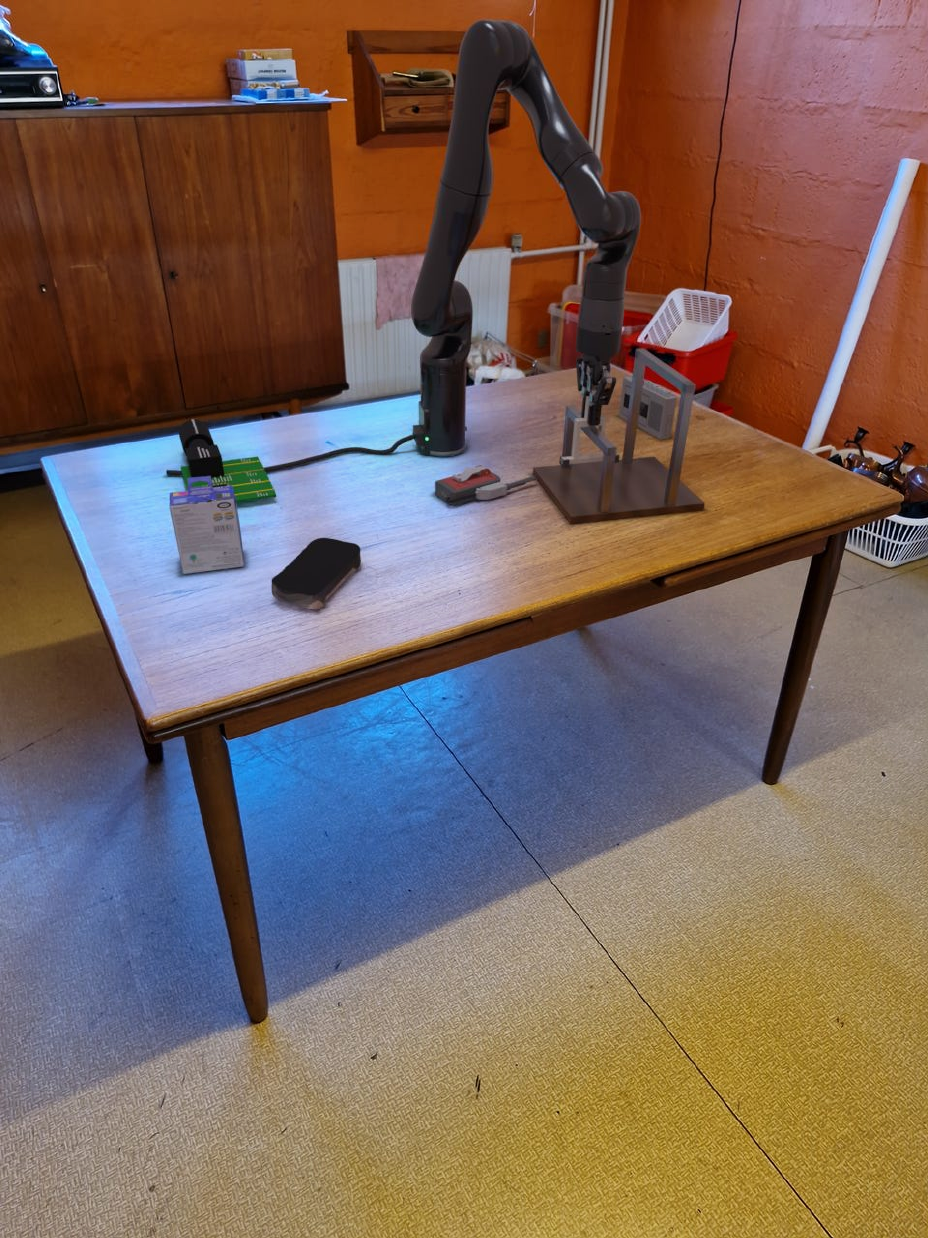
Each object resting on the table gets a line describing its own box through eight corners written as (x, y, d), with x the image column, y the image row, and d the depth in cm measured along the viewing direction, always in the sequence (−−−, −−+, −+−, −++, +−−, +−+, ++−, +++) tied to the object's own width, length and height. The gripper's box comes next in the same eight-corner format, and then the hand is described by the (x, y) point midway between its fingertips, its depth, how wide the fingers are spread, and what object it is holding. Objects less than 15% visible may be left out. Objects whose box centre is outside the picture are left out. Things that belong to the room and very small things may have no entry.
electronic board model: (273, 468, 153) (186, 480, 148) (277, 502, 157) (193, 515, 152) (245, 412, 176) (169, 421, 171) (249, 444, 180) (175, 453, 175)
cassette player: (618, 416, 197) (623, 373, 191) (628, 414, 198) (633, 371, 192) (660, 439, 185) (667, 394, 179) (670, 437, 186) (677, 392, 180)
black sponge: (319, 554, 141) (317, 535, 139) (365, 563, 138) (364, 544, 136) (267, 604, 128) (265, 583, 126) (317, 615, 126) (315, 594, 124)
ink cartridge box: (243, 551, 141) (231, 470, 133) (246, 567, 137) (233, 484, 129) (181, 559, 139) (165, 477, 131) (182, 575, 135) (165, 491, 127)
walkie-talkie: (454, 513, 154) (538, 486, 164) (454, 490, 152) (540, 465, 162) (427, 495, 160) (510, 471, 170) (427, 473, 158) (511, 450, 167)
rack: (570, 524, 151) (582, 393, 138) (532, 474, 169) (540, 353, 156) (703, 510, 156) (727, 382, 143) (653, 463, 174) (670, 345, 161)
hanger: (562, 467, 156) (568, 400, 149) (559, 463, 158) (564, 396, 151) (618, 462, 158) (626, 396, 151) (614, 458, 160) (622, 392, 153)
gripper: (565, 314, 149) (557, 410, 158) (594, 336, 137) (584, 437, 147) (605, 312, 150) (595, 407, 160) (637, 333, 139) (624, 434, 148)
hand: (590, 421), depth 153 cm, fingers closed
